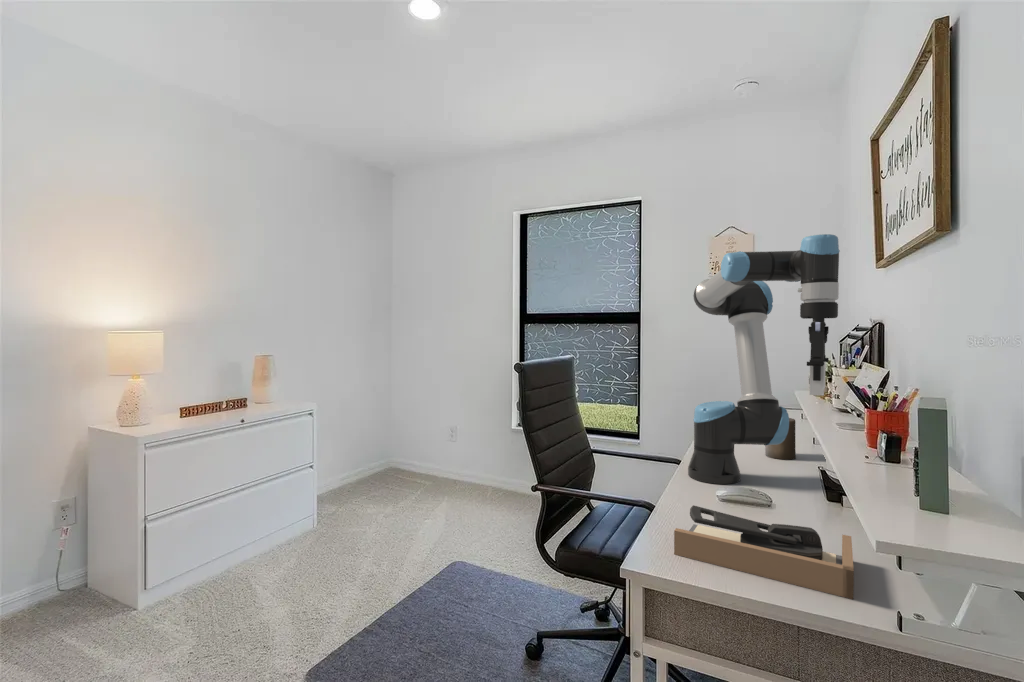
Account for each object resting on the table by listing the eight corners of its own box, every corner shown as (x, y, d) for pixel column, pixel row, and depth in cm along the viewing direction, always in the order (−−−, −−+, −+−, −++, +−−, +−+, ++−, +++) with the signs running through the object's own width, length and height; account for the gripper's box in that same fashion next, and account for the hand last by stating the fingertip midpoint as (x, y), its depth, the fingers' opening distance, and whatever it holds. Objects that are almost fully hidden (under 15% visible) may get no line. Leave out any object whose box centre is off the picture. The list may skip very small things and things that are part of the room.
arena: (693, 526, 115) (693, 505, 114) (850, 560, 98) (851, 536, 97) (674, 554, 101) (674, 530, 101) (853, 599, 84) (853, 571, 84)
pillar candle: (801, 459, 170) (801, 417, 170) (774, 460, 170) (774, 417, 170) (785, 453, 180) (785, 412, 180) (759, 453, 180) (759, 412, 180)
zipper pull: (688, 503, 110) (815, 515, 102) (688, 532, 110) (814, 546, 102) (690, 518, 101) (828, 533, 94) (690, 549, 101) (828, 566, 94)
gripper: (803, 304, 127) (802, 385, 127) (796, 300, 106) (795, 396, 107) (838, 303, 122) (836, 386, 123) (838, 298, 102) (836, 399, 102)
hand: (817, 391), depth 115 cm, fingers open, 13 cm apart
